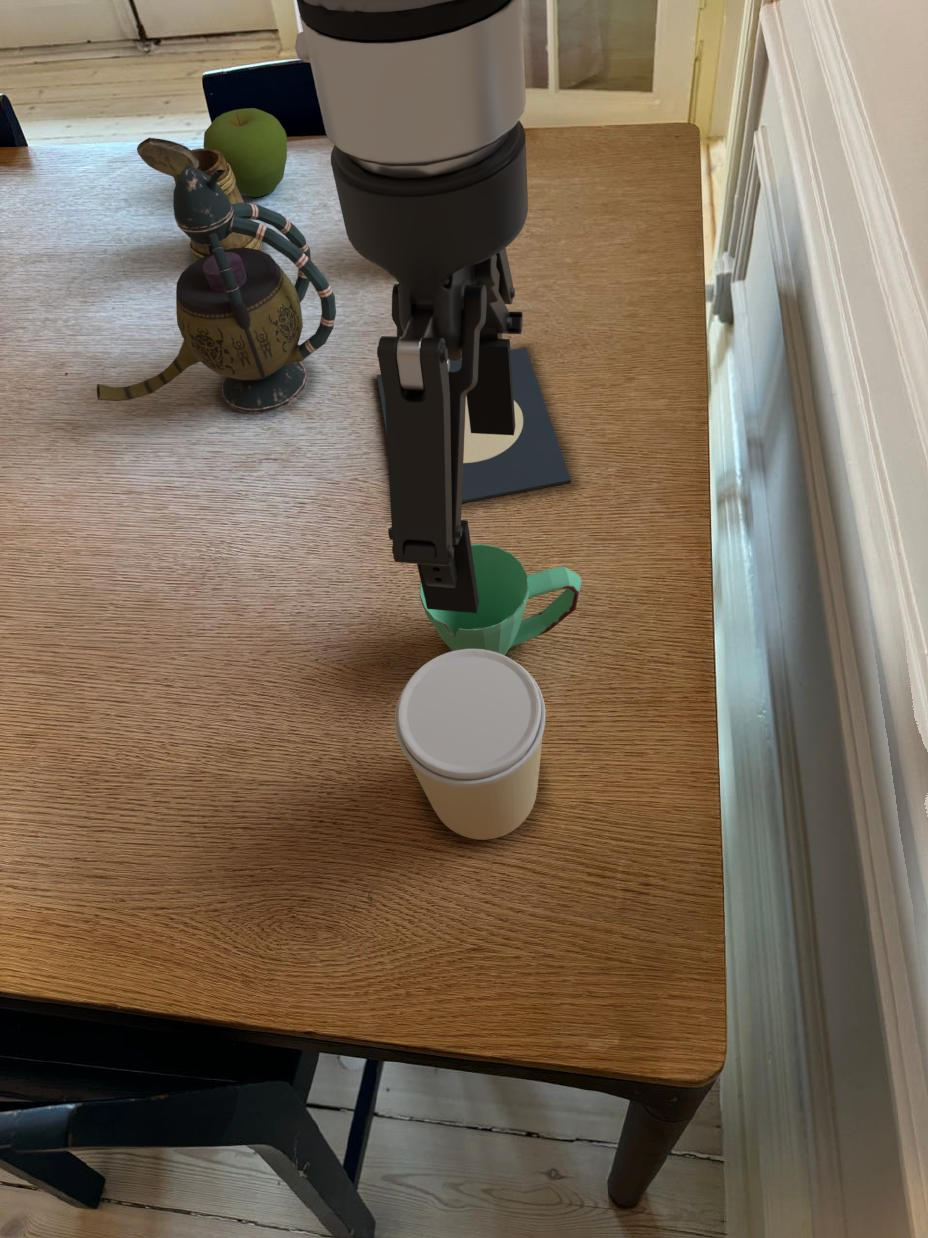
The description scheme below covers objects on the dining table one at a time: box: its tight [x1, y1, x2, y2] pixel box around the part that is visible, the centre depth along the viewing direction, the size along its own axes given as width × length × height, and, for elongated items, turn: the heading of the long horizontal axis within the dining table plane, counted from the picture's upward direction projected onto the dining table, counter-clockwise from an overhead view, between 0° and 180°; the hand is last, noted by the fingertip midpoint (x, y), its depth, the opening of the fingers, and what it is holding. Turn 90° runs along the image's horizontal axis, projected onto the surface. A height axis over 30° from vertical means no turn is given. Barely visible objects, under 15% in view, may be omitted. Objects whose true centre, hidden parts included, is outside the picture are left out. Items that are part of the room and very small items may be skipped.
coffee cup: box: [394, 649, 547, 841], centre depth 57 cm, size 9×9×12 cm
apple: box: [202, 107, 288, 198], centre depth 111 cm, size 11×10×10 cm
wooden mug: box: [136, 137, 263, 263], centre depth 98 cm, size 9×14×18 cm, turn 173°
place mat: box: [376, 346, 572, 504], centre depth 84 cm, size 20×16×1 cm
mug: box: [419, 543, 582, 656], centre depth 65 cm, size 12×8×8 cm, turn 99°
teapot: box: [96, 165, 337, 414], centre depth 81 cm, size 12×25×23 cm, turn 111°
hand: (474, 511), depth 49 cm, fingers open, 13 cm apart
